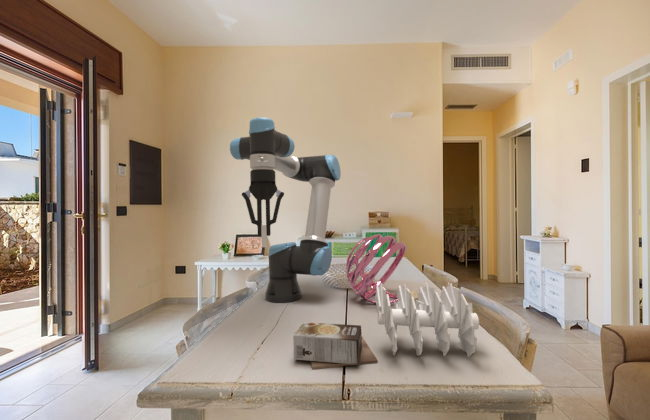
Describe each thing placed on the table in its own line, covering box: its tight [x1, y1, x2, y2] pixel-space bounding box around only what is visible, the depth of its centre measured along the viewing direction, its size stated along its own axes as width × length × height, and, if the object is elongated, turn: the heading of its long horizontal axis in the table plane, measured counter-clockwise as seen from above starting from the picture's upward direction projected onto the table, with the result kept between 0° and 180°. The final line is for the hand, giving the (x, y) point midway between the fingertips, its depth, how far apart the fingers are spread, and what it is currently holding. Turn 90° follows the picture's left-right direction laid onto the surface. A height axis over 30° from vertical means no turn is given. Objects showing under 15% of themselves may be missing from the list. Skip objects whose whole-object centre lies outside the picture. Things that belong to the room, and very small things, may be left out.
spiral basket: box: [345, 233, 407, 305], centre depth 123 cm, size 28×28×27 cm
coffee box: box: [293, 321, 363, 366], centre depth 77 cm, size 9×6×16 cm
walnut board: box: [310, 336, 379, 370], centre depth 81 cm, size 18×16×1 cm
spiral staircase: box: [375, 282, 480, 358], centre depth 78 cm, size 18×18×25 cm
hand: (264, 246), depth 93 cm, fingers closed
